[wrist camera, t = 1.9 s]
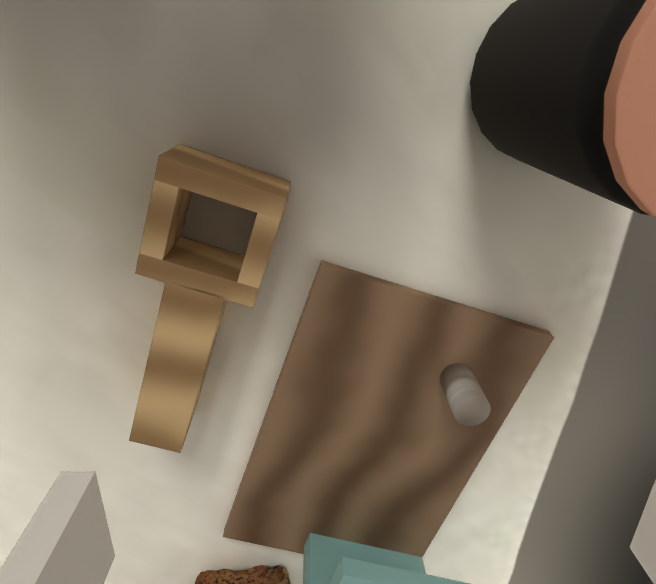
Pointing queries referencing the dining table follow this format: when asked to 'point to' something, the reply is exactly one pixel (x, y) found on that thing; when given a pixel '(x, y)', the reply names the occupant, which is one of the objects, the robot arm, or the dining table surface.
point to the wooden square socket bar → (196, 281)
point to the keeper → (361, 564)
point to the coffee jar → (574, 93)
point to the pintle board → (379, 415)
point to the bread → (245, 576)
